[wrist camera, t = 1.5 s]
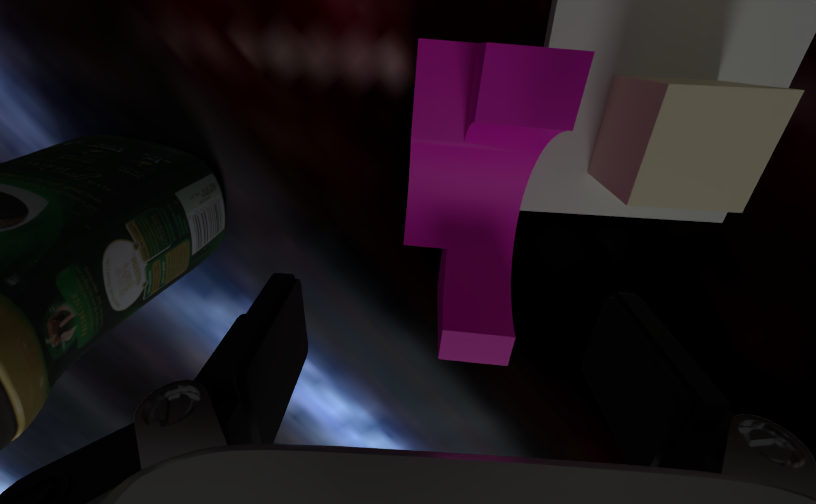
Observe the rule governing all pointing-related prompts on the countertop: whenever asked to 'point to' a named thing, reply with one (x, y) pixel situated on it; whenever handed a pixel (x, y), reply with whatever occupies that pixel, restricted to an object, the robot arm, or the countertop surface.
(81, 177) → the coffee jar
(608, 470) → the robot arm
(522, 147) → the toy block
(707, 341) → the countertop surface
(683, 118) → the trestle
